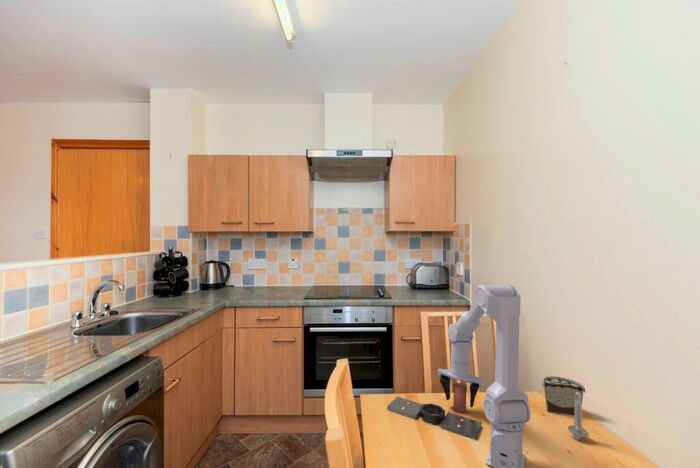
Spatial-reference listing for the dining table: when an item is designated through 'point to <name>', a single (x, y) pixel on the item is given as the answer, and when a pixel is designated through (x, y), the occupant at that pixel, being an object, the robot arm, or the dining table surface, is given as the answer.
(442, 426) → the hinge
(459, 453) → the dining table surface
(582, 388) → the food container
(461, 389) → the hinge pin
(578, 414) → the screw
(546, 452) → the dining table surface
